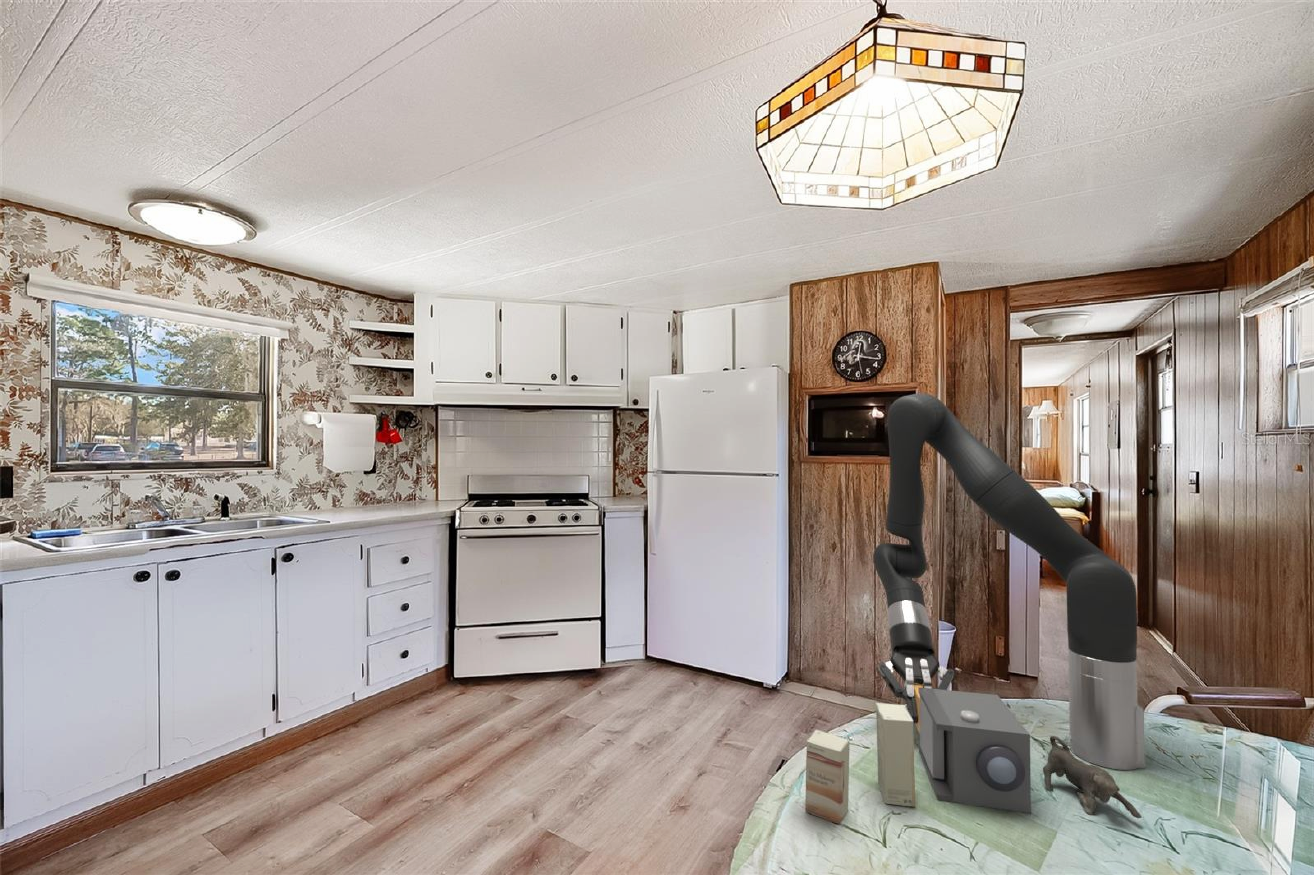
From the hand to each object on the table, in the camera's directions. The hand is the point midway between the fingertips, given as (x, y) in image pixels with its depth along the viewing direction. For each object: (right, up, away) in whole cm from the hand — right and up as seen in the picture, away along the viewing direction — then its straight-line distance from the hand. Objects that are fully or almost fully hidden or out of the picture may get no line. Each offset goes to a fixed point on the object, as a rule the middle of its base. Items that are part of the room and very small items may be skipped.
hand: (922, 722), depth 100 cm
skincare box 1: (-22, -4, -18) cm, 29 cm away
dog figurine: (+17, -4, -16) cm, 23 cm away
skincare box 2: (-11, -4, -14) cm, 18 cm away
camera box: (+3, -4, -11) cm, 12 cm away
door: (-1, -3, -3) cm, 5 cm away
